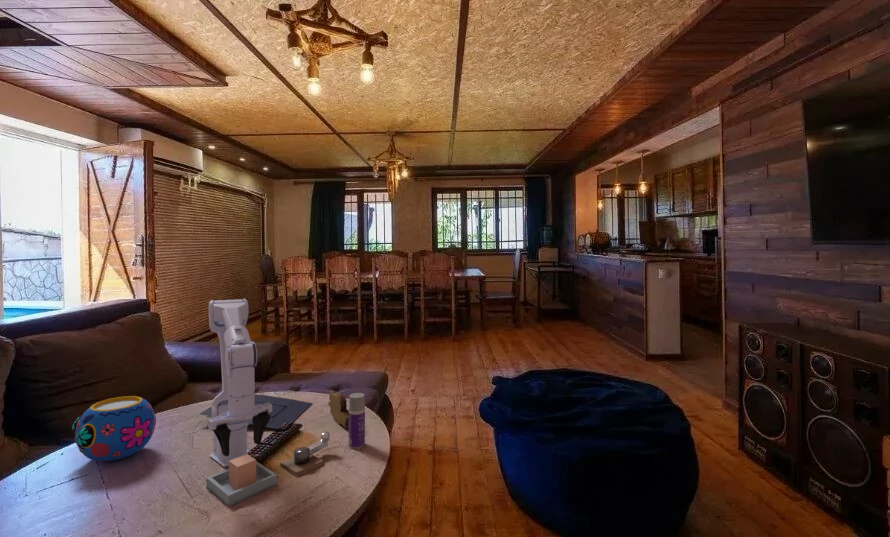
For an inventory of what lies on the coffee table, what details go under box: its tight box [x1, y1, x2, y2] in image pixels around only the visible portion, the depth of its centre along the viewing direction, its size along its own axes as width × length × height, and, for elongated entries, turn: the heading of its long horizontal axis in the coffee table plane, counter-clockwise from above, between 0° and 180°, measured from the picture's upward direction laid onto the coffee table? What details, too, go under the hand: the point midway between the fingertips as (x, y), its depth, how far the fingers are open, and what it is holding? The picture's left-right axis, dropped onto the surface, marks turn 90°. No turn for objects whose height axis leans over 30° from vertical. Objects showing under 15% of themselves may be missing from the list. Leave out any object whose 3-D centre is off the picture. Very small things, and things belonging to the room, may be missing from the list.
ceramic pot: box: [71, 395, 157, 462], centre depth 116 cm, size 18×18×15 cm
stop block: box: [228, 454, 257, 490], centre depth 102 cm, size 4×4×6 cm
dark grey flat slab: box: [199, 393, 313, 430], centre depth 146 cm, size 24×30×4 cm
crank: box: [293, 430, 330, 464], centre depth 116 cm, size 12×4×4 cm, turn 151°
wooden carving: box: [328, 392, 349, 429], centre depth 140 cm, size 16×5×10 cm, turn 40°
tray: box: [206, 460, 278, 507], centre depth 102 cm, size 12×12×2 cm
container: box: [348, 392, 366, 450], centre depth 124 cm, size 5×5×15 cm
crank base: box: [279, 454, 324, 477], centre depth 112 cm, size 8×8×1 cm
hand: (241, 448), depth 102 cm, fingers open, 7 cm apart
